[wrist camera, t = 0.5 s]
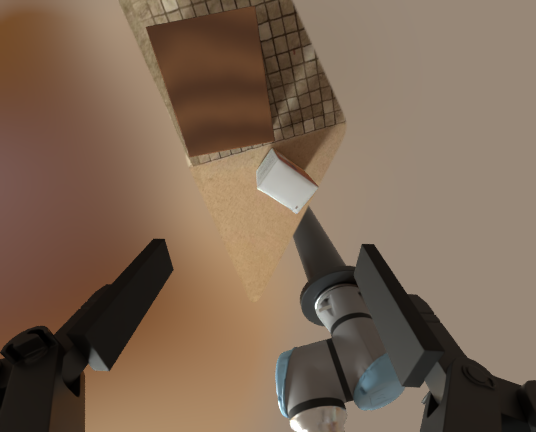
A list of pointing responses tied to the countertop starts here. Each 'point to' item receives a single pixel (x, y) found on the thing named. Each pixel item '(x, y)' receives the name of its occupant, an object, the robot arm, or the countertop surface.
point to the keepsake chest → (215, 79)
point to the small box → (284, 181)
